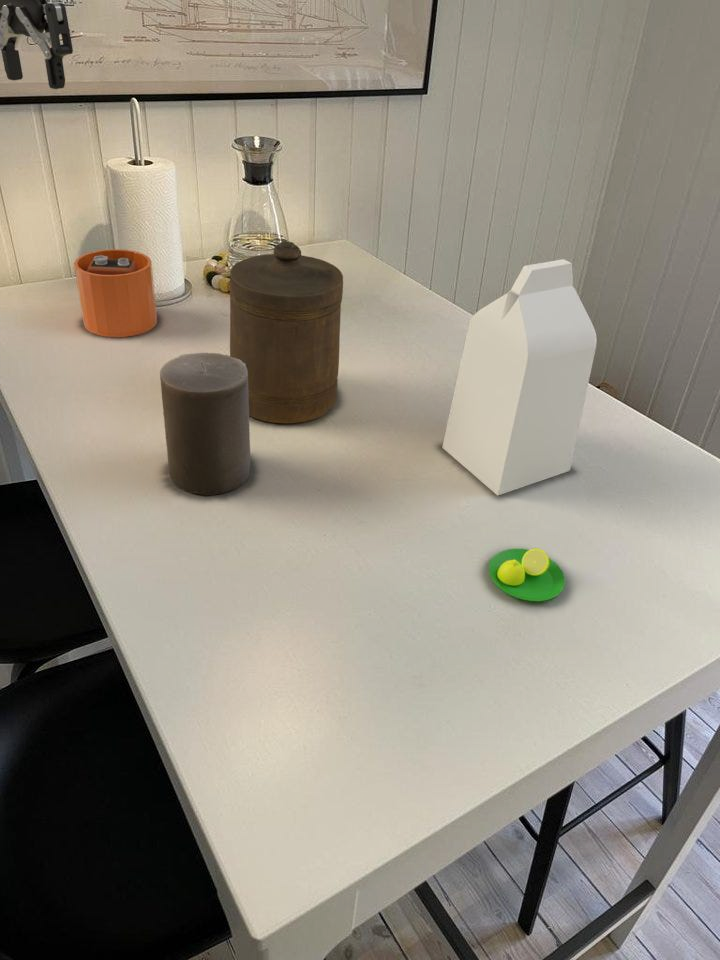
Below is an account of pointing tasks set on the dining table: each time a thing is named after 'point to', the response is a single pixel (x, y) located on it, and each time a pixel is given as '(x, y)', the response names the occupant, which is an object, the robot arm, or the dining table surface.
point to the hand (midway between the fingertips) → (36, 83)
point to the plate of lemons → (527, 574)
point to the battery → (111, 266)
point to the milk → (523, 381)
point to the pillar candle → (206, 422)
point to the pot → (117, 296)
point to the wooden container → (287, 333)
